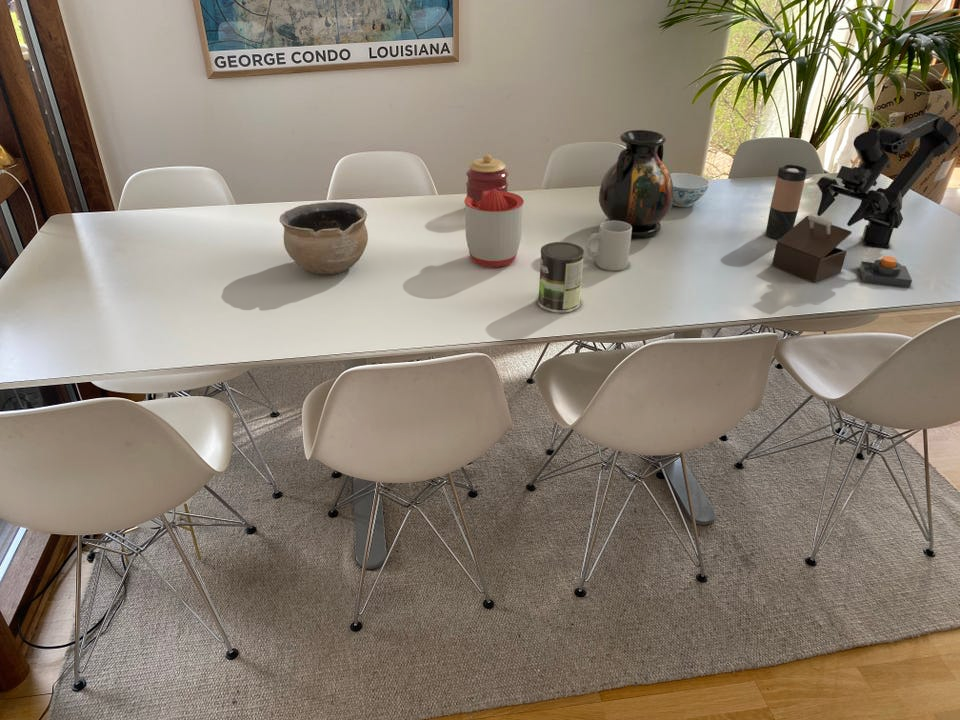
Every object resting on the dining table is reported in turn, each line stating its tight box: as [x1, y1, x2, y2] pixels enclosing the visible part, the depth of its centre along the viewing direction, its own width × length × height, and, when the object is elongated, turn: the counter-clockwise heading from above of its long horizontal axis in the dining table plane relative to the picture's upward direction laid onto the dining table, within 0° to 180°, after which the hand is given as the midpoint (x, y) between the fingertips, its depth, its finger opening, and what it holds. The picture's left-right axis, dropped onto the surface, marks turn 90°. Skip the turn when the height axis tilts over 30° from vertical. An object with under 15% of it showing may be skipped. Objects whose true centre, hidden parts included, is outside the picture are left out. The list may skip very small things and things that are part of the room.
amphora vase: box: [598, 129, 674, 239], centre depth 223 cm, size 22×22×28 cm
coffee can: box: [537, 241, 585, 314], centre depth 185 cm, size 10×10×14 cm
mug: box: [586, 220, 632, 272], centre depth 206 cm, size 12×8×11 cm
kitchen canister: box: [465, 153, 509, 203], centre depth 239 cm, size 13×13×18 cm
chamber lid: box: [776, 213, 852, 260], centre depth 201 cm, size 12×13×5 cm
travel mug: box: [765, 164, 808, 240], centre depth 223 cm, size 8×8×20 cm
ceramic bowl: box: [278, 201, 369, 275], centre depth 202 cm, size 22×22×15 cm
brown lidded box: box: [771, 242, 848, 284], centre depth 206 cm, size 11×13×6 cm
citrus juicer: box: [463, 189, 525, 269], centre depth 206 cm, size 16×17×20 cm
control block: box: [859, 258, 913, 289], centre depth 202 cm, size 11×9×4 cm
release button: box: [880, 255, 898, 268], centre depth 201 cm, size 4×4×2 cm
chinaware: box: [670, 172, 710, 208], centre depth 248 cm, size 15×15×8 cm
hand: (832, 220), depth 205 cm, fingers open, 9 cm apart
